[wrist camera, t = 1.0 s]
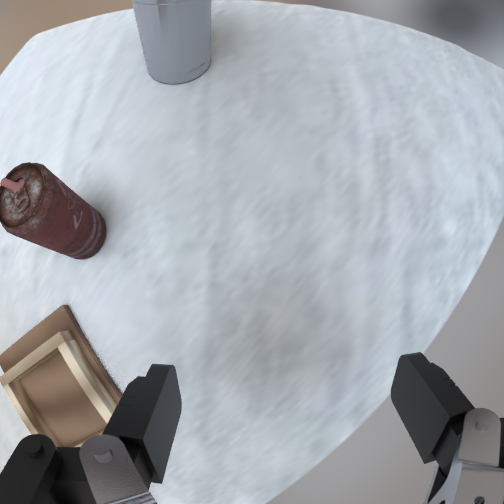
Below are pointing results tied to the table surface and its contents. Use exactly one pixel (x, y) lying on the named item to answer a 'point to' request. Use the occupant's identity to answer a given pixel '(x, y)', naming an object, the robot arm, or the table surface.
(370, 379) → the table surface
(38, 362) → the tray
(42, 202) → the can
